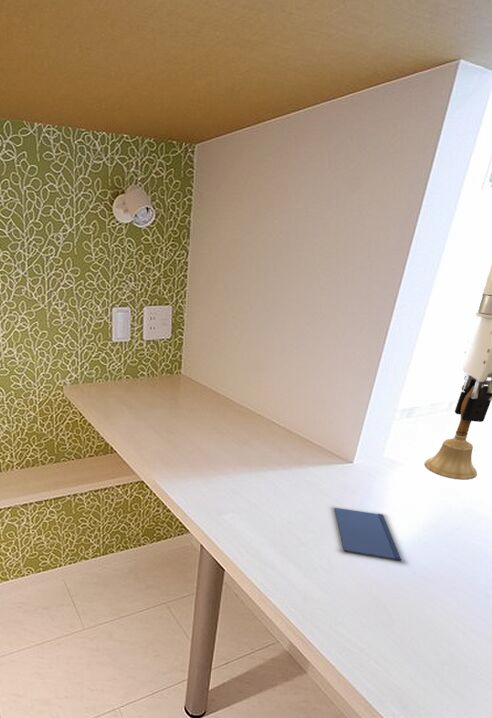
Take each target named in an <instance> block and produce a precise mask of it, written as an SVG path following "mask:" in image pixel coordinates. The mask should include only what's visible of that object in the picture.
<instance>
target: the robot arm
mask: <svg viewBox="0 0 492 718" xmlns="http://www.w3.org/2000/svg"><path fill="white" fill-rule="evenodd" d="M474 316H475V317H478V318H477V320H476V323H475V325H474V327H473V330H472V332H471V335H470V337H469V340H468V342H467V345H466V348H465V350H464V354H463V357H462V361H461V366H460V368H461V370H462V371H463V374H464V377H463V379H464V381H463V383H462V386H461V392H460V394H459V398H458V400H457V402H456V406H455V409H454V413H455V414H456V415H461V406H462V403H463V400H464V398H465V396H466V395H467V394H468V392H469V391H470V390H471V388H472V386H474V390H473V393H472V397H468V400H467V403H466V406H465V409H464V411H463V414H462V417H461V416H460V419H461V418H462V419H463V420H465V421H471V422H477V423H483V422H484V420H485V418H486V416H487V412H488V410H489V408H490V404H491V402H492V265H490V269H489V272H488V275H487V278H486V280H485V284H484V287H483V291H482V294H481V296H480V300H479V302H478V305H477V309H476V311H475V314H474ZM488 378H491V379H490V380H489V379H488Z"/></svg>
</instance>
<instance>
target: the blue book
mask: <svg viewBox="0 0 492 718" xmlns="http://www.w3.org/2000/svg"><path fill="white" fill-rule="evenodd" d="M334 512H335V516H336V521H337V525H338V530H339V534H340V539H341V543H342V547H343V551H344V552H347V553H353V554H360V555H366V556H372V557H377V558H384V559H389V560H395V561H401V562H402V558H401V555H400V553H399V551H398V548H397V546H396V542H395V540H394V538H393V536H392V533H391V531H390V528H389V526H388V523H387V520H386V518H385V516H384V514H383V513H374V512H373V513H372V512H367V511H366V512H365V511H359V510H353V509H346V508H338V507H334Z"/></svg>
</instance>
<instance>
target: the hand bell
mask: <svg viewBox="0 0 492 718" xmlns="http://www.w3.org/2000/svg"><path fill="white" fill-rule="evenodd" d="M473 390H474V386H472V388H471V390H470V391H469V392H468V394H467V395H466V396H465V398H464V400H463V403H462V406H461V414H460V421H459V424H458V427H457V429H456V431H455V435H454V437H453V438H447V439H445V440H444V441H443V443H442V445H441V447H440V448H439V450H438V451H437V453H436V454H435V455H433V456H432V457H430V458H427V460H425V461H424V465H423V466H424V467H425V469H426V470H428V471H429V472H431V473H433V474H434V475H438V476H441V477H443V478H447V479H451V480H458V481H459V480H461V481H467V480H473V479H475V478H476V477H478V472H477V470H476V468H475V467H474V464H473V462H472V453H473V449H474V447H473V444H472V443H471V442H469V441H467V437H468V432H469V430H470V427H471V423H472V421H465V420H463V419H462V418H461V417H462V414H463V411H464V409H465V406H466V403H467V400H468V397H472V393H473Z"/></svg>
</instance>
